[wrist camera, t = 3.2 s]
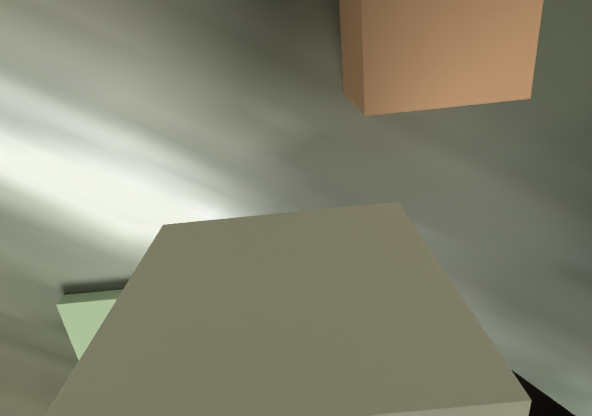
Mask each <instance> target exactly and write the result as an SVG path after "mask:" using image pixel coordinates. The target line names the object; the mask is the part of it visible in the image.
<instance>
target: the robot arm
mask: <svg viewBox="0 0 592 416" xmlns="http://www.w3.org/2000/svg"><path fill="white" fill-rule="evenodd" d="M512 372H513V373H514V375H515V376H516V378H517V379H518V381H519V382H520V384H521V385H522V387H523V388H524V390H525V391H526V393H527V394H528V396H529V397H530V399H531V400H532V401H531V406H530V411H529V416H575V415H574V414H572V413H571V412H569V411H568V410H567V409H565V408H564V407H562V406H561V405H560V404H558V403H557V402H556V401H554V400H553V399H551V398H550V397H549V396H547V395H546V394H544V393H543V392H542V391H540V390H539V389H537V388H536V387H535V386H533V385H532V384H530V383H529V382H528V381H526V380H525V379H524V378H522V377H521V376H519V375H518V374H517V373H515V372H514V371H512Z"/></svg>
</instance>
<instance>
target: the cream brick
mask: <svg viewBox="0 0 592 416" xmlns="http://www.w3.org/2000/svg"><path fill="white" fill-rule="evenodd" d="M531 401H532V400H531V399H530V397H529V396H528V394H527V393H526V391H525V390H524V388H523V387H522V385H521V384H520V382H519V381H518V379H517V378H516V376H515V375H514V373H513V372H512V370H511V369H510V367H509V366H508V364H507V363H506V362H505V360H504V359H503V357H502V356H501V354H500V353H499V351H498V350H497V348H496V347H495V345H494V344H493V342H492V341H491V339H490V338H489V336H488V335H487V333H486V332H485V330H484V329H483V327H482V326H481V324H480V323H479V321H478V320H477V318H476V317H475V315H474V314H473V312H472V311H471V310H470V308H469V307H468V305H467V304H466V302H465V301H464V299H463V298H462V296H461V295H460V293H459V292H458V290H457V289H456V287H455V286H454V284H453V283H452V281H451V280H450V278H449V277H448V275H447V274H446V272H445V271H444V269H443V268H442V266H441V265H440V263H439V262H438V260H437V259H436V257H435V256H434V255H433V253H432V252H431V250H430V249H429V247H428V246H427V244H426V243H425V241H424V240H423V238H422V237H421V235H420V234H419V232H418V231H417V229H416V228H415V226H414V225H413V223H412V222H411V220H410V219H409V217H408V216H407V214H406V213H405V211H404V210H403V208H402V207H401V205H400V204H399V202H391V203H381V204H371V205H361V206H350V207H340V208H330V209H320V210H310V211H300V212H289V213H279V214H269V215H259V216H249V217H239V218H229V219H218V220H208V221H198V222H188V223H178V224H168V225H163V226H162V228H161V229H160V231H159V233H158V234H157V236H156V237H155V239H154V241H153V242H152V244H151V245H150V247H149V249H148V250H147V252H146V253H145V255H144V257H143V258H142V260H141V261H140V263H139V265H138V266H137V268H136V270H135V271H134V273H133V274H132V276H131V278H130V279H129V281H128V282H127V284H126V286H125V287H124V289H123V290H122V292H121V294H120V295H119V297H118V299H117V300H116V302H115V303H114V305H113V307H112V308H111V310H110V311H109V313H108V315H107V316H106V318H105V319H104V321H103V323H102V324H101V326H100V328H99V329H98V331H97V332H96V334H95V336H94V337H93V339H92V340H91V342H90V344H89V345H88V347H87V348H86V350H85V352H84V353H83V355H82V356H81V358H80V360H79V361H78V363H77V365H76V366H75V368H74V369H73V371H72V373H71V374H70V376H69V377H68V379H67V381H66V382H65V384H64V385H63V387H62V389H61V390H60V392H59V394H58V395H57V397H56V398H55V400H54V402H53V403H52V405H51V406H50V408H49V410H48V411H47V413H46V414H45V416H529V411H530V406H531Z"/></svg>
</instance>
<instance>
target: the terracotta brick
mask: <svg viewBox="0 0 592 416" xmlns="http://www.w3.org/2000/svg"><path fill="white" fill-rule="evenodd" d="M542 7H543V0H339V12H340V32H341V52H342V72H343V92H344V94H345V95H346V96H347V97H348V98H349V99H350V100H351V102H352V103H353V104H354V105H355V106H356V107H357V108H358V109H359V110H360V111H361V112H362V113H363V115H364V116H369V115H378V114H388V113H398V112H407V111H417V110H426V109H436V108H446V107H455V106H465V105H474V104H484V103H494V102H503V101H513V100H522V99H530V97H531V89H532V82H533V74H534V67H535V59H536V52H537V44H538V37H539V29H540V22H541V14H542Z"/></svg>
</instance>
